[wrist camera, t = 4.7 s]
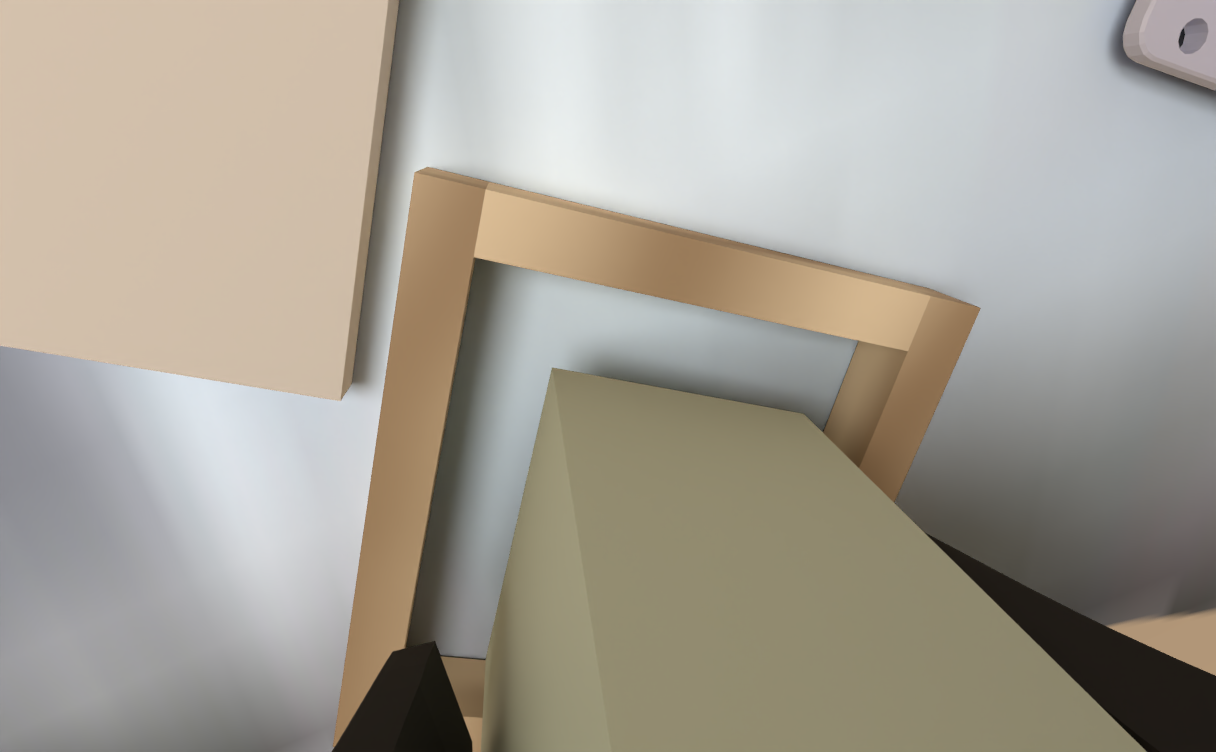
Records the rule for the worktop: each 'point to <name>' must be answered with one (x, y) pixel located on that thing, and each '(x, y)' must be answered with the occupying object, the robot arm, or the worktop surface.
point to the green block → (746, 599)
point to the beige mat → (192, 183)
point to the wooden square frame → (634, 261)
